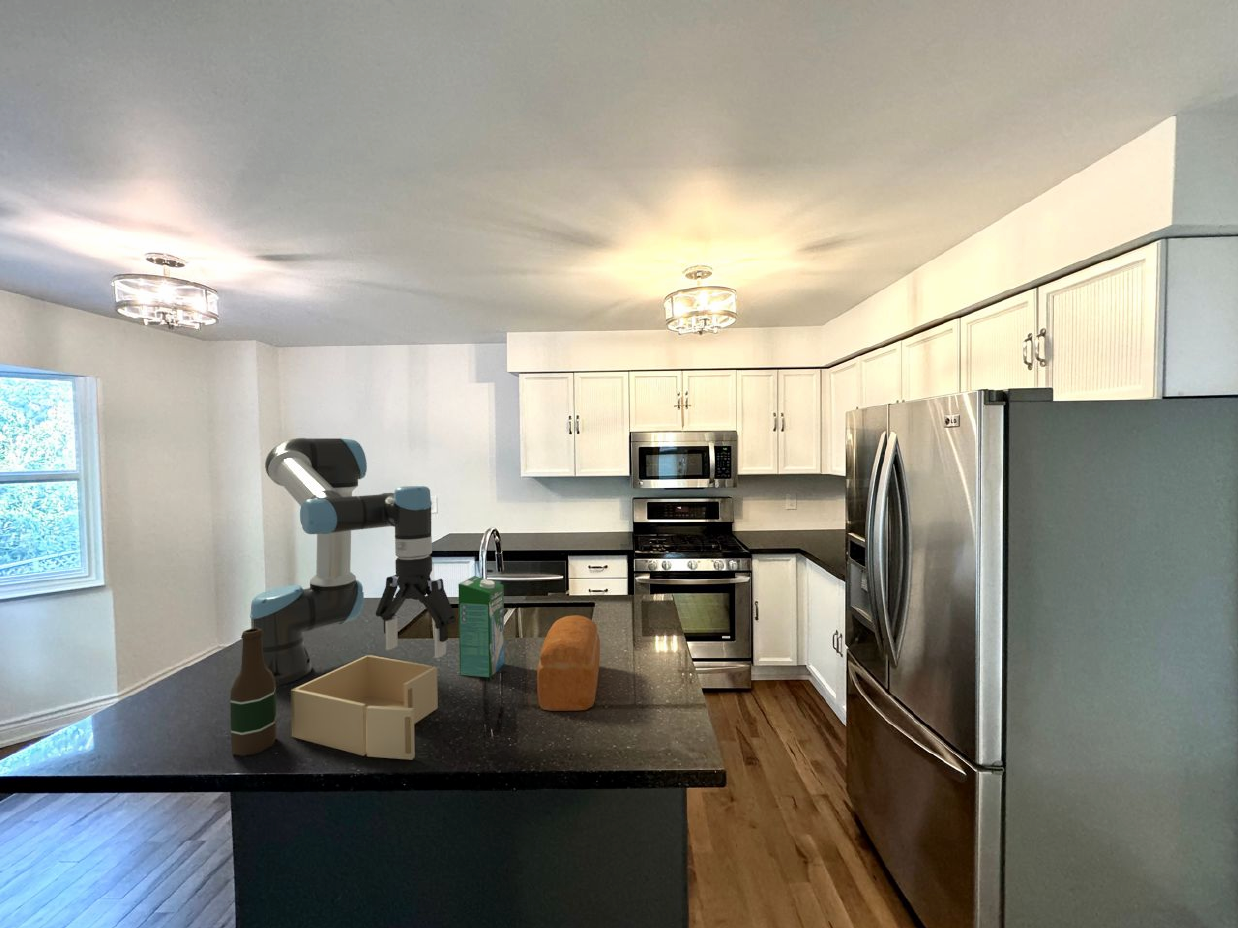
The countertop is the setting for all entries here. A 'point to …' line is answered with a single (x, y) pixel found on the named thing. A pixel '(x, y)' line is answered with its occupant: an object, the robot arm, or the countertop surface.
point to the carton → (349, 701)
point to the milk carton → (481, 627)
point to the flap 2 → (422, 694)
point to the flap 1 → (390, 732)
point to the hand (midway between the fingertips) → (415, 651)
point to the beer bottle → (253, 700)
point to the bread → (569, 665)
